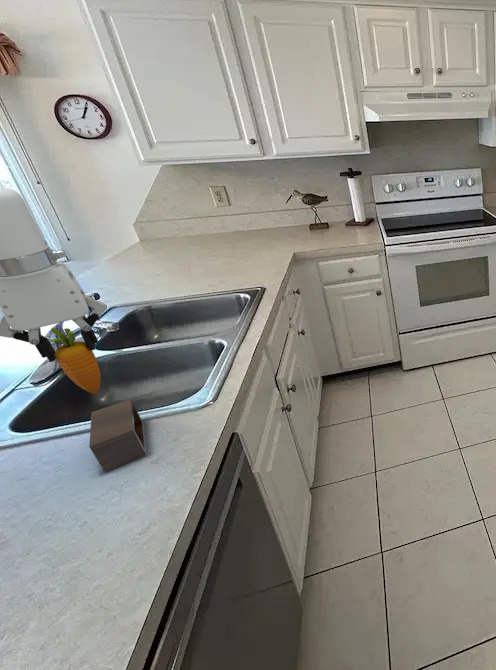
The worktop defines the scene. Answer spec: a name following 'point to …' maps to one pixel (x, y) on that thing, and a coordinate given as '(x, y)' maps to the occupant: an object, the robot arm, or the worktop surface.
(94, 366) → the carrot
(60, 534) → the worktop surface
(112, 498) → the worktop surface
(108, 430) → the shelf
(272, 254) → the worktop surface
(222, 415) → the worktop surface
